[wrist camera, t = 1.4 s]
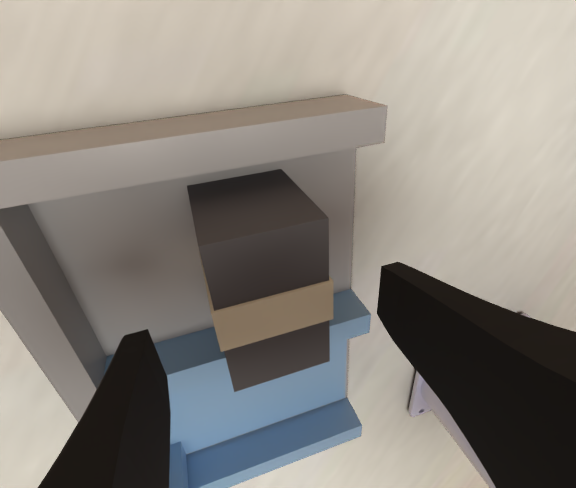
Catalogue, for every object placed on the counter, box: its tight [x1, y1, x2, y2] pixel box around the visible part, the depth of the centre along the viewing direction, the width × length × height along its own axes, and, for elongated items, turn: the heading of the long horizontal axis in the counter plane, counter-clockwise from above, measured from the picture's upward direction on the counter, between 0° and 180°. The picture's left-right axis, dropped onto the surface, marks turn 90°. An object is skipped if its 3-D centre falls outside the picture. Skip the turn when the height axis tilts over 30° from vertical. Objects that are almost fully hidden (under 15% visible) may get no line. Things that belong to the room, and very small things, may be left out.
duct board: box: [0, 95, 387, 488], centre depth 15 cm, size 13×20×4 cm, turn 4°
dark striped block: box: [187, 169, 333, 392], centre depth 12 cm, size 4×6×5 cm, turn 4°
